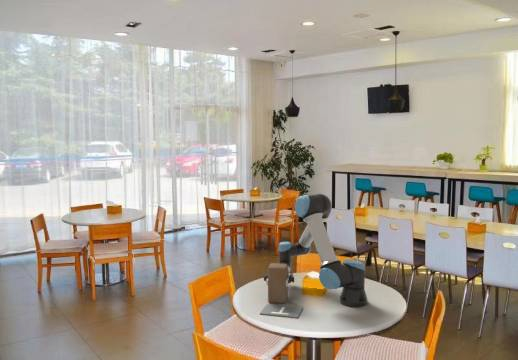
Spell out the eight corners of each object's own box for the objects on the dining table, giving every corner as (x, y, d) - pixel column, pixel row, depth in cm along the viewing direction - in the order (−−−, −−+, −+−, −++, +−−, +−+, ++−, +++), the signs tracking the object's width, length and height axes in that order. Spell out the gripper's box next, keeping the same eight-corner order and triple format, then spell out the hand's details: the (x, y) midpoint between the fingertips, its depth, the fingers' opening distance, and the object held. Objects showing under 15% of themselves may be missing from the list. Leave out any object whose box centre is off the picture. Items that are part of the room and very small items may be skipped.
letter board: (303, 308, 251) (303, 307, 251) (297, 318, 238) (297, 317, 237) (266, 305, 256) (266, 303, 256) (259, 314, 243) (259, 313, 243)
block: (285, 303, 258) (285, 268, 256) (267, 302, 260) (267, 267, 258) (287, 297, 268) (287, 263, 266) (270, 296, 270) (270, 262, 268)
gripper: (301, 279, 279) (297, 291, 257) (264, 277, 283) (256, 288, 261) (301, 266, 278) (297, 277, 256) (263, 264, 282) (256, 275, 261)
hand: (276, 283), depth 259 cm, fingers closed on block, 10 cm apart
